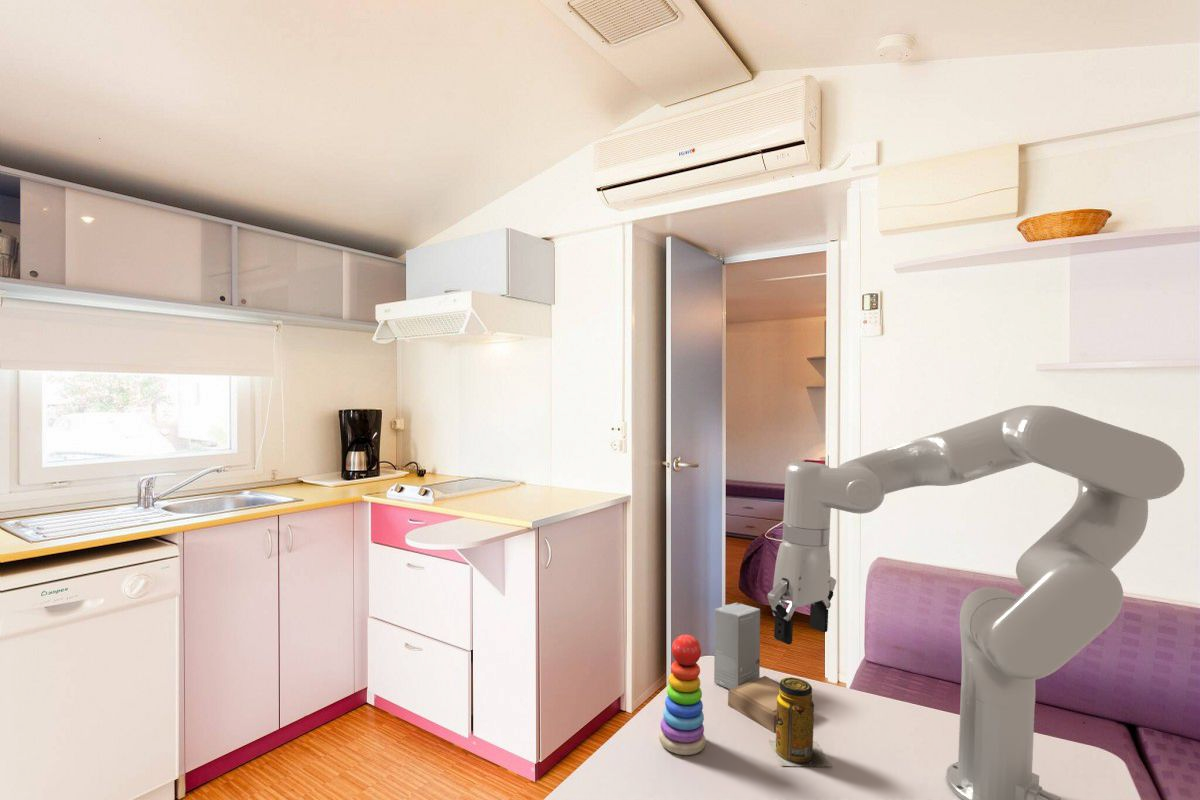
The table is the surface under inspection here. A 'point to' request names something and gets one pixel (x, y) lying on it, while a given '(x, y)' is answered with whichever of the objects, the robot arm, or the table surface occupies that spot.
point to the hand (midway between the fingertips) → (801, 635)
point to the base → (757, 701)
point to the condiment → (796, 726)
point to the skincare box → (736, 645)
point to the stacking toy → (684, 701)
